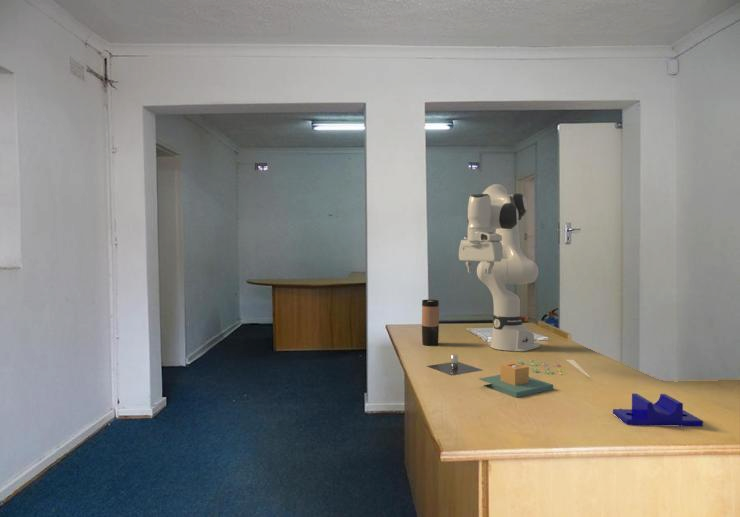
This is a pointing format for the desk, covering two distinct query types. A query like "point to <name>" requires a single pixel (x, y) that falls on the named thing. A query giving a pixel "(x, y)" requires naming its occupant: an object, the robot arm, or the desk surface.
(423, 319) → the travel mug
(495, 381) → the hub plate
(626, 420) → the mounting bracket
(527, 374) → the collar
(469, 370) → the stand
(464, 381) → the desk surface
